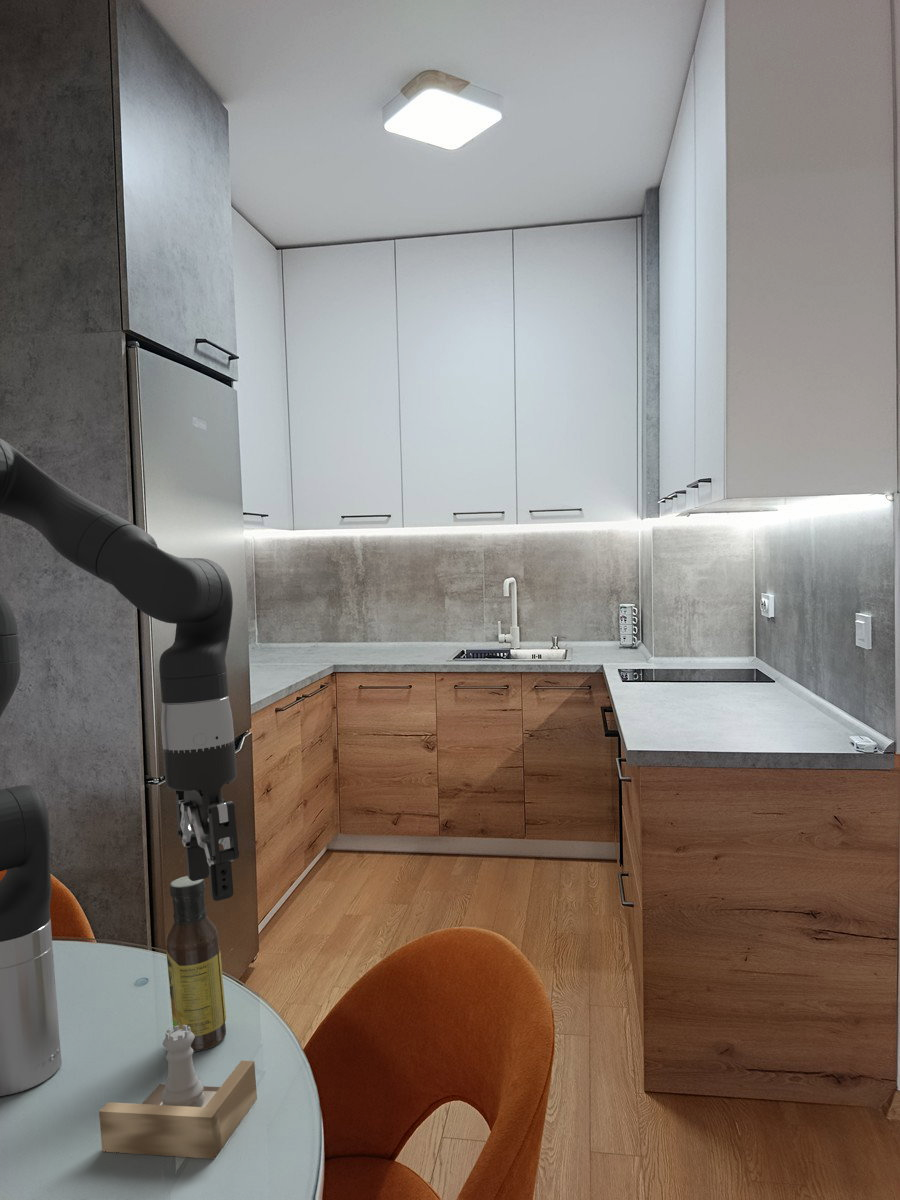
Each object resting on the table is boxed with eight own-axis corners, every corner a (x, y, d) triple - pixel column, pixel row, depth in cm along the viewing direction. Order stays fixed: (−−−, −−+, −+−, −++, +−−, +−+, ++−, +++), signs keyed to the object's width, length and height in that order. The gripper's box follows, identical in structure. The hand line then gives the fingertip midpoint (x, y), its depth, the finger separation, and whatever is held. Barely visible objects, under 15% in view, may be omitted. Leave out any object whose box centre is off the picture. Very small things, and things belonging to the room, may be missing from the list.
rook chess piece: (205, 1113, 89) (199, 1036, 89) (160, 1123, 88) (154, 1045, 88) (205, 1089, 93) (200, 1016, 93) (162, 1099, 92) (156, 1025, 92)
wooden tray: (102, 1151, 85) (99, 1111, 84) (159, 1087, 95) (157, 1051, 95) (214, 1158, 82) (211, 1117, 82) (260, 1092, 93) (258, 1055, 93)
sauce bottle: (188, 1027, 109) (177, 870, 108) (235, 1027, 108) (223, 869, 107) (164, 1054, 102) (151, 888, 102) (213, 1055, 101) (200, 887, 101)
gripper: (254, 742, 89) (266, 896, 90) (212, 729, 101) (223, 865, 102) (181, 754, 85) (194, 916, 86) (147, 739, 97) (158, 880, 98)
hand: (210, 888), depth 94 cm, fingers open, 8 cm apart
